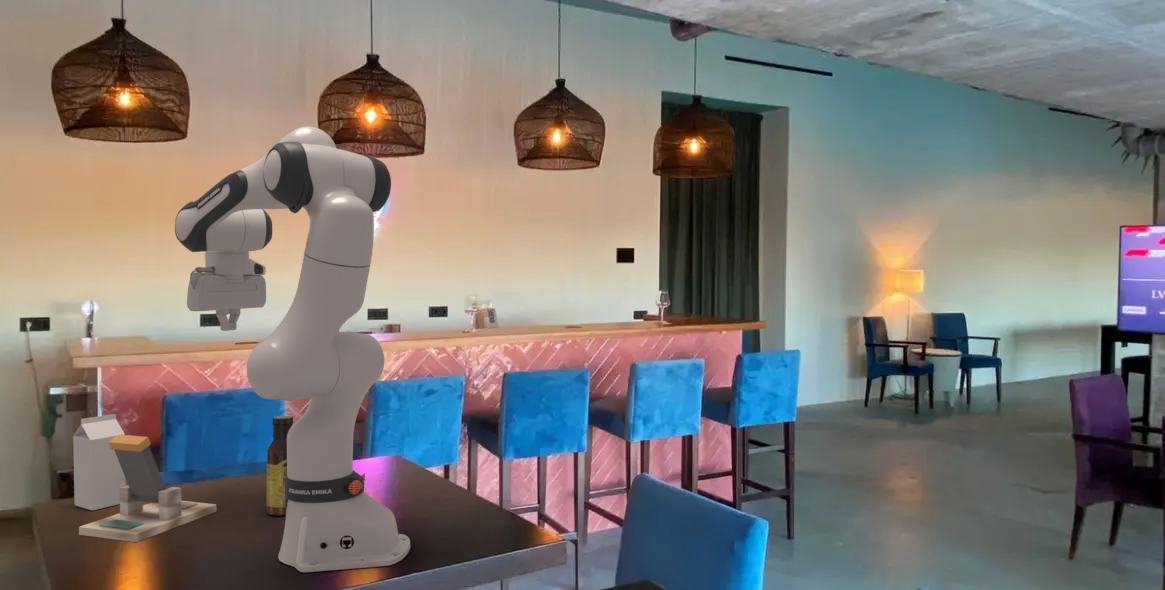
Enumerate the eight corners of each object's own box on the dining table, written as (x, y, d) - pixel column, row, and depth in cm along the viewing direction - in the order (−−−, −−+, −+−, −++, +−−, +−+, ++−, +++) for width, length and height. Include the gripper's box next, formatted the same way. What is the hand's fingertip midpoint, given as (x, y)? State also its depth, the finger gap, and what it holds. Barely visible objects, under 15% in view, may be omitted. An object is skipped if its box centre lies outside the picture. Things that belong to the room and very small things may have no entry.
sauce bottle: (287, 517, 165) (286, 420, 164) (260, 516, 166) (258, 419, 165) (305, 508, 171) (304, 414, 171) (278, 506, 172) (277, 413, 172)
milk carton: (126, 503, 175) (124, 415, 175) (91, 511, 169) (89, 420, 169) (108, 498, 179) (106, 412, 179) (74, 506, 173) (72, 417, 173)
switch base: (163, 505, 174) (162, 472, 173) (216, 511, 169) (216, 478, 169) (79, 534, 155) (78, 498, 154) (136, 542, 150) (135, 504, 150)
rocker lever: (142, 493, 164) (118, 434, 159) (171, 496, 162) (148, 436, 157) (132, 501, 162) (108, 442, 157) (161, 505, 160) (138, 444, 154)
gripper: (203, 266, 167) (204, 334, 167) (270, 267, 186) (271, 327, 187) (178, 266, 169) (179, 333, 169) (248, 267, 188) (249, 327, 189)
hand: (228, 330), depth 178 cm, fingers closed
